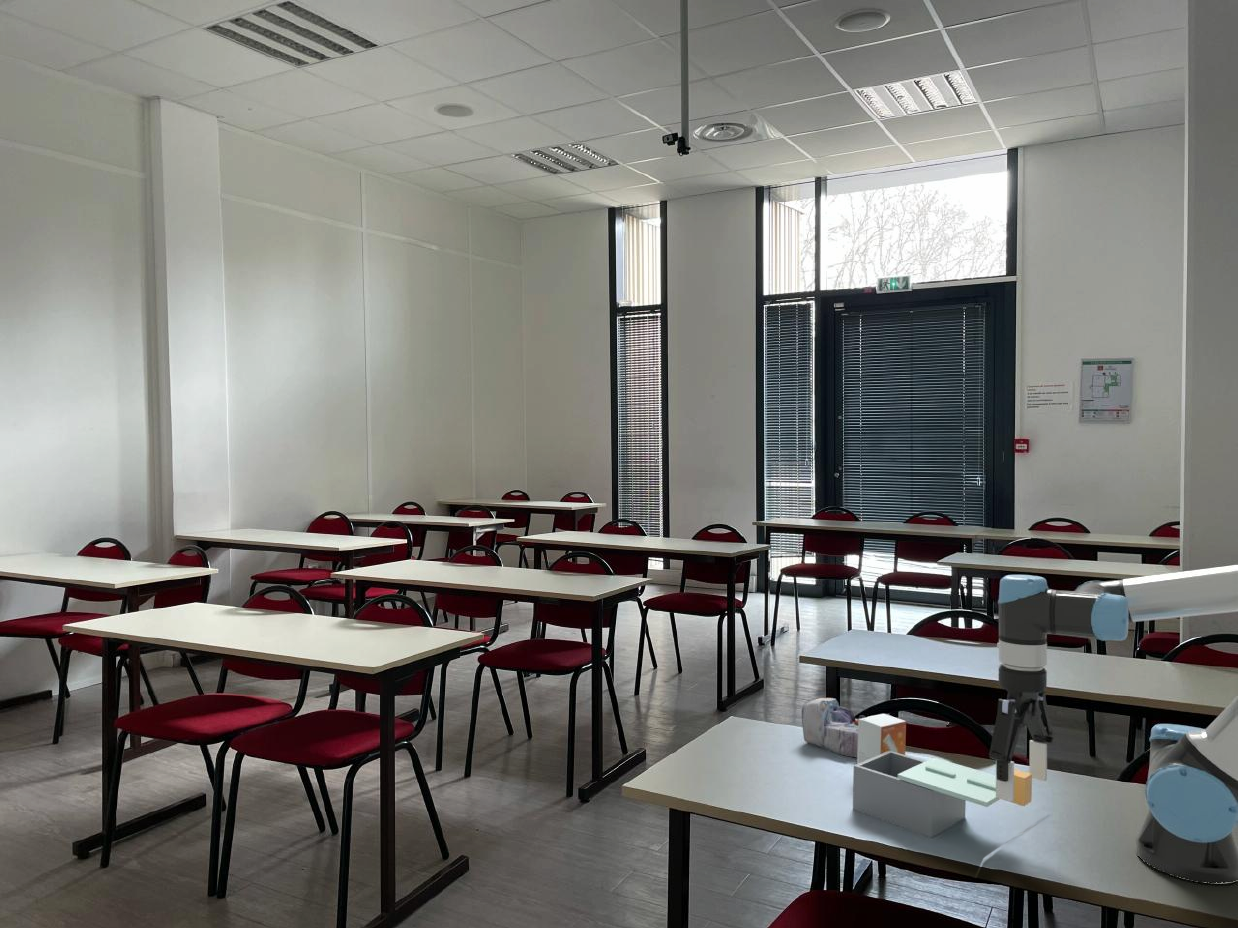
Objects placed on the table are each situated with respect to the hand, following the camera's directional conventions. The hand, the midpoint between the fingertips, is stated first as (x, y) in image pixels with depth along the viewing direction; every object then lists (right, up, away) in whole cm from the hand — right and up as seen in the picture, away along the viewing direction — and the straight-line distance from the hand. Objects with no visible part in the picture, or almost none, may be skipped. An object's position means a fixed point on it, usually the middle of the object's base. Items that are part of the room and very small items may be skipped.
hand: (1021, 788), depth 149 cm
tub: (-14, -11, +16) cm, 24 cm away
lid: (-6, -2, +7) cm, 9 cm away
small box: (-14, -11, +33) cm, 38 cm away
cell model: (-17, -11, +53) cm, 57 cm away
